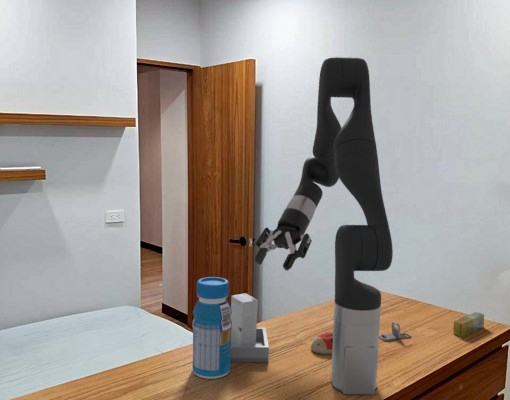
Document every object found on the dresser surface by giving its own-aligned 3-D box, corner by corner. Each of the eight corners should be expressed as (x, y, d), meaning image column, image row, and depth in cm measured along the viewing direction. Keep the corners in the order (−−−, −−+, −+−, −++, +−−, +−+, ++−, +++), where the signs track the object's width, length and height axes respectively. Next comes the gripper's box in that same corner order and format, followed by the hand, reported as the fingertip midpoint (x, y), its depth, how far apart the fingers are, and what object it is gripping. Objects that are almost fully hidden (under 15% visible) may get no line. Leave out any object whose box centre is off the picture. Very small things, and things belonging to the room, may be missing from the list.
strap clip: (384, 343, 124) (385, 326, 124) (377, 338, 127) (378, 322, 126) (412, 339, 127) (413, 323, 127) (404, 334, 130) (405, 319, 130)
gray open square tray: (268, 362, 111) (268, 347, 110) (215, 361, 110) (215, 346, 110) (265, 341, 123) (265, 327, 122) (217, 340, 122) (217, 327, 122)
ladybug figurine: (304, 348, 119) (305, 334, 119) (335, 340, 125) (335, 327, 124) (322, 358, 114) (323, 344, 113) (353, 350, 119) (354, 336, 119)
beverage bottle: (195, 382, 100) (196, 287, 98) (188, 364, 108) (189, 276, 106) (235, 378, 103) (237, 285, 100) (226, 360, 111) (227, 274, 109)
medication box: (474, 325, 138) (475, 311, 138) (484, 328, 136) (484, 314, 135) (452, 335, 130) (453, 320, 130) (462, 338, 128) (463, 323, 128)
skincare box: (228, 344, 118) (229, 295, 116) (244, 340, 120) (245, 292, 119) (240, 353, 112) (241, 302, 111) (257, 349, 115) (258, 299, 113)
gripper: (270, 204, 133) (242, 252, 125) (315, 209, 124) (289, 261, 116) (280, 221, 138) (254, 269, 130) (325, 228, 129) (300, 279, 121)
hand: (271, 265), depth 123 cm, fingers open, 8 cm apart
